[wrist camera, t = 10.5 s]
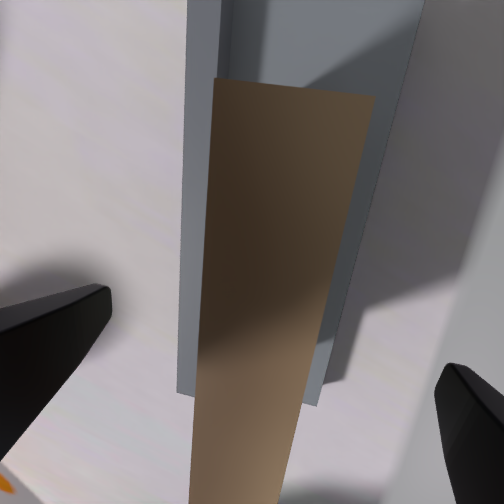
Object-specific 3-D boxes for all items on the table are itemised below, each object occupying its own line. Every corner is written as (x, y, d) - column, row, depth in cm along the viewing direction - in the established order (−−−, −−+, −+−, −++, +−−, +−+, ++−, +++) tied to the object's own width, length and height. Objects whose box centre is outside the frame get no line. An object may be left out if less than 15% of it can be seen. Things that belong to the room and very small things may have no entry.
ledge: (415, 11, 12) (438, -18, 10) (317, 386, 20) (315, 429, 17) (211, -5, 14) (182, -34, 11) (192, 356, 21) (173, 391, 19)
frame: (347, 106, 13) (379, 96, 5) (295, 351, 18) (267, 554, 10) (283, 98, 13) (210, 76, 5) (250, 340, 18) (185, 527, 10)
